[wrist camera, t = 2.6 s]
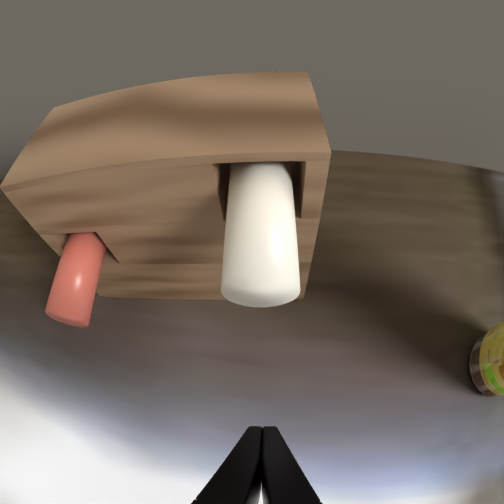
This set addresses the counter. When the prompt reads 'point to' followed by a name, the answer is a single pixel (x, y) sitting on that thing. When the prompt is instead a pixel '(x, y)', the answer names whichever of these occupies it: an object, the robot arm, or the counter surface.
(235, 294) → the ivory button
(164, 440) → the counter surface
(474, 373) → the sauce bottle
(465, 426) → the counter surface
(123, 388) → the counter surface
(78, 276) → the salmon pink cylinder
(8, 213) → the counter surface
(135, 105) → the wooden block
